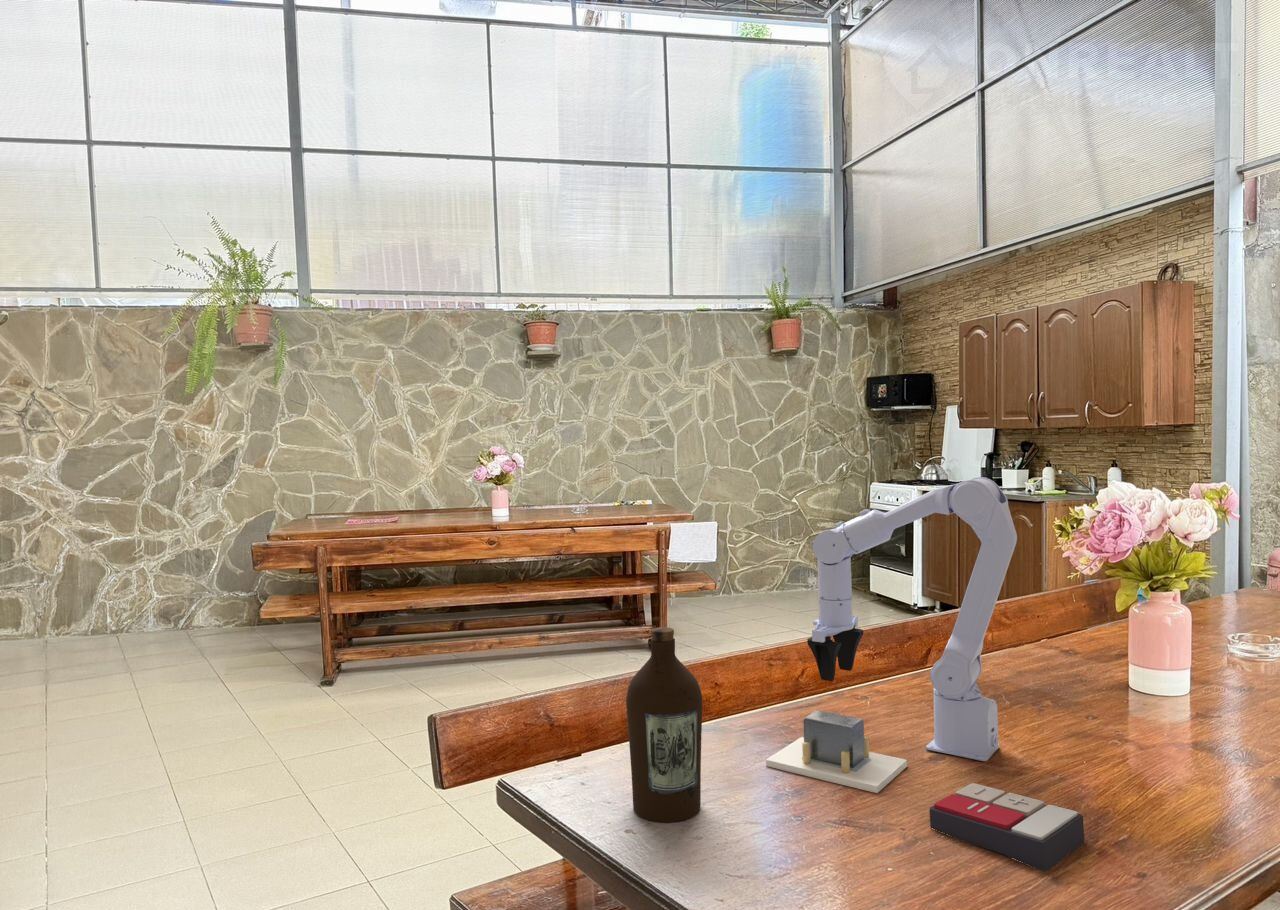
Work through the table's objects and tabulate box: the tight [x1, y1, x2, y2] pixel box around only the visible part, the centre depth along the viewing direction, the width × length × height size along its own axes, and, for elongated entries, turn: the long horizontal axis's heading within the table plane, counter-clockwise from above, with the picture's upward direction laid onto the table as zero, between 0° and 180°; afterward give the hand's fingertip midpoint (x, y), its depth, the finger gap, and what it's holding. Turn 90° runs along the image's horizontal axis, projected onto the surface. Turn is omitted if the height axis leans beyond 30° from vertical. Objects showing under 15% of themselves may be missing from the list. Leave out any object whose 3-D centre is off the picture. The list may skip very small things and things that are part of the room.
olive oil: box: [625, 626, 703, 823], centre depth 117 cm, size 11×11×25 cm
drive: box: [803, 710, 865, 768], centre depth 130 cm, size 8×4×6 cm, turn 54°
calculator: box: [929, 782, 1086, 872], centre depth 107 cm, size 11×4×15 cm
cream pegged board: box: [765, 735, 908, 794], centre depth 130 cm, size 18×12×4 cm, turn 52°
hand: (836, 674), depth 147 cm, fingers open, 7 cm apart
